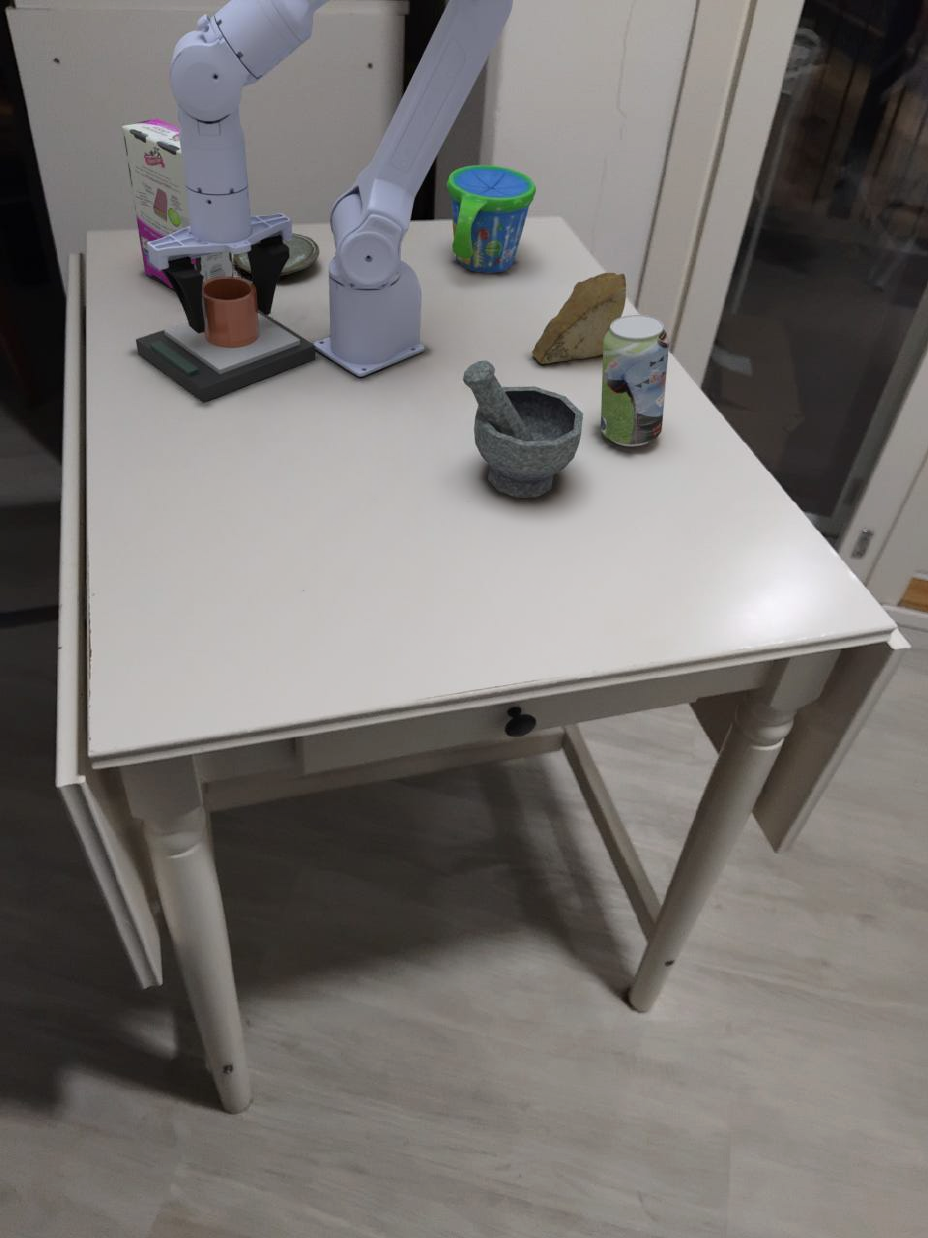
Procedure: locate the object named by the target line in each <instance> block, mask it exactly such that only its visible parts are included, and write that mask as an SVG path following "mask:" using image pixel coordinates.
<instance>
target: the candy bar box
mask: <svg viewBox="0 0 928 1238" xmlns="http://www.w3.org/2000/svg"><path fill="white" fill-rule="evenodd" d="M121 129H122V134H123V140H124V146H125V147H124V148H125V154H126V160H127V166H128V172H129V179H130V183H131V184H130V185H131V191H132V198H133V204H134V209H135V210H134V211H135V218H136V224H137V230H138V237H139V242H140V249H141V256H142V261H143V268H144V274H146V275H147V276H149V277H151V278H152V279H154V280H156V281H157V282H159V283H161V284H163V285H165V286H167V287H168V288H170V289H172V290H174V289H173V287H172V285H171V284H170V282H169V280H168V279H167V277H166V276H165V274H164V273H163V271H162V270H159V269H158V268H156V267H155V266H154V265H153V264H152V263H150V260H149V254H148V247H147V242H151V241H155V240H158V239H161V238H163V237H166V236H168V235H170V234H172V233H175V232H177V231H179V230H181V229H183V228H186V227H188V226H190V218H189V210H188V202H187V195H186V187H185V180H184V171H183V163H182V155H181V147H180V139H179V129H180V126H179V127H178V126H176V125H174V124H172V123H170V122H167V121H165V120H162V119H160V118H154V119H148V120H143V121H139V122H138V121H137V122H135V123H130V124H126V125H122V126H121ZM191 263H192V264H195V270H197V271H198V272H199V273H200V274H202V275H203V276H204V278H203V282H205V281H207V280H209V279H212V278H216V277H227V276H229V277H230V276H231V277H235V275H234V267H233V254H232V253H230V252H219V253H215V254H211V255H207V256H202V257H198V258H194V259H191Z"/></svg>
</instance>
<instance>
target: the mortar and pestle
mask: <svg viewBox="0 0 928 1238" xmlns="http://www.w3.org/2000/svg"><path fill="white" fill-rule="evenodd" d="M495 373H496V368H495V366H494V365H493V363H491V362H490V361H488V360H478V361H475V362H474V363H472V364H470V365H469V366H468V367H467V368H466V369H465V370H464V371H463V375H462V381H463V383H464V385H466V387H468V388H469V389H470V390H471V392H472V395H473V397H474V399H475V401H476V404H477V408H476V411H475V416H474V424H473V425H474V426H473V432H474V433H473V435H474V445H475V446H476V449H477V451H478V452H479V454H480V456H481V457H482V458H483V460H484V461H485V462H486V463H487V464H488V465H489V469H488V470H489V471H488V474H487V475H488V476H487V480H488V481H489V483H490V484H491V485H492V486H493V487H494V489H495V490H496V491H497V492H498V493H502V494H504V495H507V496H510V497H513V498H516V499H526V498H527V499H528V498H530V499H531V498H538V497H541V496H542V495H544V494H546V493H548V492H549V491H550V490H552V486H553V479H554V475H556V474H557V473H559V472H560V471H563V470H564V469H565V468H567V466H568V465H569V464H570V463H571V462H572V461H573V460H574V458H575V456H576V453H577V451H578V448H579V446H580V442H581V437H582V429H583V420H584V413H583V412H582V411H581V410H580V409H579V408H578V407H577V406H576V405H575V404H574V403H573V401H571V400H570V399H569V398H567V396H565V395H563V394H560V393H556V392H553V391H550V390H547V389H544V388H541V387H538V386H534V385H533V386H502V385H501V384H500V382H499V380H498V378H497V377H496V375H495Z"/></svg>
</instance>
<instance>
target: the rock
mask: <svg viewBox="0 0 928 1238" xmlns="http://www.w3.org/2000/svg"><path fill="white" fill-rule="evenodd" d="M626 300H627V279H626V276H625V274H624V273H619V274H616V273H615V272H603V273H600V274H596V275H594V276H593V277H589V278H587V279H585V280H582V281H578V282H576V284H575V285H574V286H573V290H572V292H571V294H570V295H569V297H568V299H567V300H566V301H565V302H564V303H563V306H562V307H561V308H560V309H559V311H558V313H557V315H555V316H554V317H552V318H551V319H550V321H548V323H547V324H546V326H545V328H544V330H543V332H542V334H541V335H540V337H539V339H538V340H537V341H536V343H535V345H534V347H533V349H532V352H531V354H532V356H533V357H534V358H535V360H536V361H537V362H538V363H539V364H541V365H543V364H552V363H558V362H568V361H570V360H578V359H580V360H584V359H588V358H595V357H598V356H602V355H603V340H604V337H605V335H606V333H607V332H608V331H609V329H610V325H611V323H612V322H613V321H614V320H616V319H618V318H620V317H623V314H624V313H623V312H624V310H625V306H626Z"/></svg>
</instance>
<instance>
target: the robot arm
mask: <svg viewBox="0 0 928 1238" xmlns="http://www.w3.org/2000/svg"><path fill="white" fill-rule="evenodd" d="M329 1H330V0H230V1H228V2H227V3H226V4H225V5H224V6H223V7H222V8H220V9H219V10H218V11H217V12H216V13H215V14H214V15H212V16H211V17H209V16H208V14H207V13H205V14H204V15H202V16H201V17H200V18H199V19H198V20H197V22H196V23H197V27H198V29H199V30H196V29H195V30H191V31H189V32H187V33H186V34H183V36H182V37H181V38H180V39H179V40H178V41H177V42H176V44H175V47H174V49H173V52H172V53H173V54H172V57H171V64H170V69H169V85H170V89H171V93H172V95H173V98H174V99H175V102H176V103H177V106H176V107H177V108H176V115H177V120H178V122H179V125H180V126H179V128H180V129H179V139H180V147H181V155H182V163H183V171H184V180H185V187H186V195H187V202H188V210H189V218H190V226H188V227H186V228H183V229H181V230H179V231H177V232H175V233H172V234H170V235H168V236H166V237H163V238H161V239H158V240H155V241H151V242H147V247H148V254H149V260H150V263H152V264H153V265H154V266H155V267H156V268H158V269H159V270H162V271H163V273H164V274H165V276H166V277H167V279H168V280H169V282H170V284H171V285H172V287H173V289H172V290H174V292H175V293H176V296H177V299H178V300H179V302H180V304H181V307H182V309H183V311H184V315H185V317H186V320H187V322H188V323H189V326H190V327H191V328H192V329H193V330H195V331H196V332H197V333H203V332H205V321H204V314H203V308H202V285H203V278H204V276H203V275H202V274H200V273H199V272H198V271H197V270H195V264H192V263H191V259H194V258H198V257H202V256H207V255H211V254H215V253H219V252H230V253H231V254H232V255H233V254H240V253H245V252H247V254H248V258H249V263H250V268H251V273H250V275H251V283H253V284H254V285H255V288H256V293H257V306H258V310H260V311H261V312H262V313H263V314H265V315H270V314H271V313H272V307H273V302H274V297H275V292H276V289H277V285H278V282H279V279H280V276H281V275H280V274H281V272H282V270H283V268H284V266H285V264H286V262H287V261H288V259H289V256H290V251H289V247H288V246H287V245H286V244H284V243H283V240H288V239H292V233H293V222H292V219H291V218H290V217H288V216H287V215H286V214H284V213H282V212H277V213H272V214H263V215H251V205H250V204H251V203H250V191H249V180H248V179H249V178H248V167H247V153H246V143H245V133H244V129H243V128H242V126H241V118H240V107H239V105H240V103H241V100H242V94H243V88H244V87H245V86H249V85H254V84H256V83H257V82H258V81H260V80H261V79H263V77H264V76H266V75H267V74H268V73H269V72H270V71H272V70H273V69H274V68H275V67H276V66H278V65H279V64H281V62H282V61H284V60H285V59H286V58H287V57H289V56H290V55H291V54H292V53H293V52H295V51H296V50H297V49H298V48H299V47H301V46H302V45H303V44H304V43H305V42H307V41H308V40H310V38H311V37H312V33H313V23H314V14H315V12H316V11H317V10H319V9H320V8H321V7H323V6H324V5H325V4H326V3H328V2H329ZM513 4H514V0H448V2H447V4H446V6H445V8H444V10H443V13H442V14H441V17H440V19H439V21H438V23H437V25H436V28H435V29H434V31H433V33H432V35H431V37H430V39H429V42H428V44H427V46H426V48H425V50H424V52H423V54H422V57H421V59H420V61H419V63H418V65H417V67H416V69H415V71H414V73H413V75H412V77H411V79H410V81H409V83H408V85H407V87H406V90H405V92H404V93H403V95H402V97H401V100H400V102H399V103H398V106H397V108H396V110H395V113H394V114H393V116H392V118H391V120H390V122H389V125H388V126H387V128H386V131H385V133H384V135H383V137H382V139H381V141H380V143H379V145H378V147H377V149H376V152H375V154H374V156H373V158H372V160H371V161H370V163H369V164H368V165H367V166H366V167H364V168H363V169H361V171H360V172H359V173H358V175H357V177H356V179H355V181H354V183H353V185H352V186H351V187H350V188H349V189H348V190H347V191H345V192H344V193H343V194H341V195H339V197H338V198H337V199H336V200H335V202H334V203H333V204H332V207H331V209H330V213H329V227H330V230H331V233H332V235H333V240H334V249H335V251H334V256H333V258H332V259H331V261H330V263H329V264H328V293H329V294H328V295H329V297H328V298H329V336H328V337H325V338H323V339H320V340H318V341H315V342H313V344H314V345H315V351H318V352H319V353H321V354H322V355H324V356H326V357H327V358H329V359H330V360H331V361H333V362H335V363H336V364H338V365H339V366H341V367H342V368H344V369H345V370H347V371H349V372H350V373H352V374H354V375H355V376H357V377H366V376H367V375H369V374H371V373H374V372H377V371H379V370H381V369H384V368H386V367H389V366H391V365H393V364H396V363H398V362H401V361H404V360H405V359H408V358H410V357H413V356H415V355H417V354H420V353H423V352H424V351H425V345H424V344H421V343H420V336H421V318H422V296H423V295H422V288H421V283H420V280H419V278H418V276H417V273H416V272H415V270H414V269H413V268H412V267H411V266H410V265H409V264H408V263H407V262H405V261H404V260H402V244H403V241H404V239H405V237H406V234H407V232H408V231H409V227H410V224H411V218H412V213H413V212H412V211H413V208H414V203H415V198H416V196H417V194H418V192H419V190H420V188H421V186H422V185H423V182H424V181H425V178H426V177H427V175H428V173H429V171H430V170H431V167H432V165H433V164H434V162H435V159H436V158H437V156H438V154H439V152H440V150H441V148H442V146H443V144H444V143H445V140H446V138H447V137H448V135H449V134H450V130H451V129H452V127H453V125H454V123H455V122H456V120H457V117H458V116H459V113H460V111H461V109H462V108H463V106H464V104H465V102H466V100H467V99H468V97H469V95H470V93H471V91H472V88H473V87H474V85H475V83H476V81H477V79H478V78H479V76H480V73H481V72H482V70H483V68H484V66H485V64H486V62H487V60H488V59H489V57H490V54H491V52H492V50H493V48H494V46H495V45H496V43H497V41H498V39H499V37H500V35H501V33H502V31H503V30H504V28H505V26H506V24H507V22H508V20H509V18H510V16H511V13H512V9H513Z"/></svg>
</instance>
